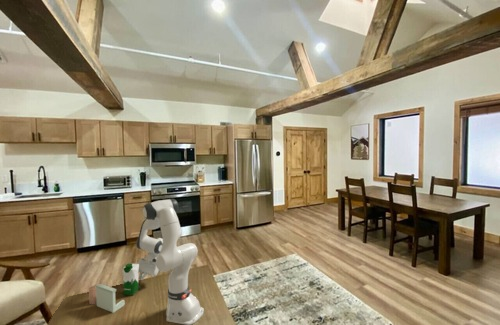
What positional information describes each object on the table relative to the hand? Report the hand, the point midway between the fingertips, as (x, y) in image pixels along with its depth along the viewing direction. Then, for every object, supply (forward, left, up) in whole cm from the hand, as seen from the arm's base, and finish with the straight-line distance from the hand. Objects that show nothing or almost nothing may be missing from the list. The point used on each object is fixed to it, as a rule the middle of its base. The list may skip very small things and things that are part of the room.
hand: (140, 279), depth 160 cm
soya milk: (0, +7, -5) cm, 9 cm away
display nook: (0, +22, -5) cm, 23 cm away
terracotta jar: (+13, +23, -5) cm, 27 cm away
